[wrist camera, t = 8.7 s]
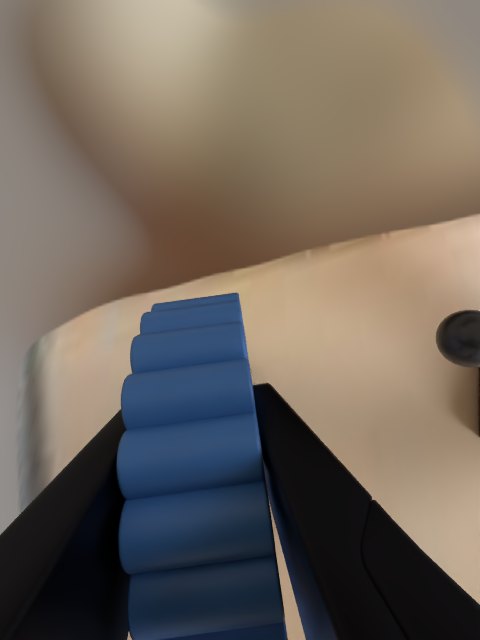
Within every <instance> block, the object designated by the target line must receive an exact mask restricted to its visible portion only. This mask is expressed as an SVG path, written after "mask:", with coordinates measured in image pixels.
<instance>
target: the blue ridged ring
mask: <svg viewBox="0 0 480 640" xmlns="http://www.w3.org/2000/svg"><path fill="white" fill-rule="evenodd" d="M130 361H131V369H132V373H133V374H130V375H128V376H127V377H126V379H125V380H124V383H123V387H122V393H121V411H122V417H123V422H124V425H125V428H126V430H127V431H125V432H124V434H123V435H122V437H121V440H120V443H119V447H118V453H117V479H118V485H119V489H120V492H121V494H122V496H123V497H124V498H125V499H126V500H125V502H124V505H123V508H122V512H121V516H120V522H119V532H118V549H119V558H120V562H121V566H122V568H123V570H124V572H125V573H127V574H130V575H131V576H130V581H129V588H128V598H127V619H128V628H129V632H130V636H131V638H132V640H288V638H287V631H286V624H285V615H284V607H283V600H282V593H281V585H280V578H279V572H278V565H277V558H276V551H275V542H274V534H273V527H272V520H271V513H270V506H269V499H268V492H267V486H266V479H265V471H264V463H263V456H262V449H261V442H260V435H259V428H258V421H257V415H256V408H255V401H254V393H253V386H252V379H251V372H250V365H249V360H248V353H247V346H246V338H245V332H244V325H243V319H242V312H241V305H240V300H239V294H238V293H231V294H223V295H216V296H209V297H201V298H194V299H187V300H180V301H172V302H165V303H158V304H154V305H153V306H152V309H151V312H146V313H144V314H143V315H142V317H141V323H140V334H139V335H137V336H136V337H134V339H133V341H132V344H131V351H130Z"/></svg>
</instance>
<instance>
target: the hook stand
mask: <svg viewBox="0 0 480 640" xmlns="http://www.w3.org/2000/svg"><path fill="white" fill-rule="evenodd" d="M436 344H437V347H438V349H439V351H440V352H441V354H442V355H443V356H444V357H445V358H446V359H448V360H449V361H451V362H452V363H454V364H457V365H459V366H463V367H479V437H480V311H477V310H463V311H458V312H455V313H453V314H451V315H449V316H448V317H446V318H445V319H444V320H443V321H442V322H441V323H440V325H439V327H438V329H437V332H436Z"/></svg>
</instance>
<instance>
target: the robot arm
mask: <svg viewBox="0 0 480 640" xmlns="http://www.w3.org/2000/svg"><path fill="white" fill-rule="evenodd" d="M253 393H254V401H255V408H256V415H257V421H258V428H259V435H260V442H261V449H262V456H263V463H264V471H265V479H266V486H267V492H268V497H269V501H270V505H271V509H272V513H273V516H274V520H275V524H276V528H277V531H278V535H279V539H280V543H281V547H282V550H283V554H284V558H285V562H286V566H287V569H288V573H289V577H290V581H291V584H292V588H293V592H294V596H295V600H296V603H297V607H298V611H299V615H300V618H301V622H302V626H303V630H304V634H305V637H306V640H480V605H479V604H478V603H477V602H476V601H475V600H474V599H473V598H472V597H471V596H470V595H469V594H468V593H466V592H465V591H464V590H463V589H462V588H461V587H460V586H459V585H458V584H457V583H456V582H455V581H454V580H453V579H452V578H451V577H449V576H448V575H447V574H446V573H445V572H444V571H443V570H442V569H441V568H440V567H439V566H438V565H437V564H436V563H435V562H434V561H433V560H432V559H431V558H430V557H429V556H428V555H427V554H426V553H425V552H423V551H422V550H421V549H420V548H419V547H418V545H417V544H416V543H415V542H414V541H413V540H412V539H411V538H410V537H409V536H408V535H407V534H406V533H405V532H404V531H403V530H402V529H401V528H400V527H399V525H398V524H397V523H396V522H395V521H394V520H393V519H392V518H391V517H390V516H389V515H388V514H387V513H386V511H385V510H384V509H383V508H382V507H381V506H380V505H379V504H378V503H377V501H376V500H372V496H371V495H370V494H369V493H368V492H367V491H366V490H365V488H364V487H363V486H362V485H361V484H360V483H359V482H358V481H357V480H356V478H355V477H354V476H353V475H352V474H351V473H350V472H349V471H348V470H347V469H346V467H345V466H344V465H343V464H342V463H341V462H340V461H339V460H338V459H337V457H336V456H335V455H334V454H333V453H332V452H331V451H330V450H329V449H328V447H327V446H326V445H325V444H324V443H323V442H322V441H321V440H320V439H319V438H318V436H317V435H316V434H315V433H314V432H313V431H312V430H311V429H310V428H309V426H308V425H307V424H306V423H305V422H304V421H303V420H302V419H301V418H300V417H299V415H298V414H297V413H296V412H295V411H294V410H293V409H292V408H291V407H290V405H289V404H288V403H287V402H286V401H285V400H284V399H283V398H282V397H281V396H280V394H279V393H278V392H277V391H276V390H275V389H274V388H273V387H272V386H271V385H270V384H269V383H265V384H257V385H253ZM125 431H127V430H126V428H125V425H124V422H123V417H122V411H121V410H120V411H119V412H118V413H117V414H116V415H115V416H114V417H113V418H112V419H111V420H110V421H109V422H108V423H107V424H106V425H105V426H104V427H103V428H102V429H101V430H100V431H99V432H98V434H97V435H96V436H95V437H94V438H93V439H92V440H91V441H90V442H89V443H88V444H87V445H86V446H85V447H84V448H83V449H82V450H81V451H80V452H79V453H78V454H77V455H76V457H75V458H74V459H73V460H72V461H71V462H70V463H69V464H68V465H67V466H66V467H65V468H64V469H63V470H62V471H61V472H60V473H59V474H58V475H57V476H56V477H55V478H54V479H53V481H52V482H51V483H50V484H49V485H48V486H47V487H46V488H45V489H44V490H43V491H42V492H41V493H40V494H39V495H38V496H37V497H36V498H35V499H34V500H33V501H32V502H31V503H30V505H29V506H28V507H27V508H26V509H25V510H24V511H23V512H22V513H21V514H20V515H19V516H18V517H17V518H16V519H15V520H14V521H13V522H12V523H11V524H10V525H9V527H7V529H6V530H5V531H4V532H3V533H2V534H1V535H0V640H127V637H128V632H129V628H128V619H127V598H128V588H129V581H130V576H131V575H130V574H127V573H125V572H124V570H123V568H122V566H121V562H120V558H119V549H118V532H119V522H120V516H121V512H122V508H123V505H124V502H125V500H126V499H125V498H124V497H123V496H122V494H121V492H120V489H119V485H118V479H117V453H118V447H119V443H120V440H121V437H122V435H123V434H124V432H125Z"/></svg>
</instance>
